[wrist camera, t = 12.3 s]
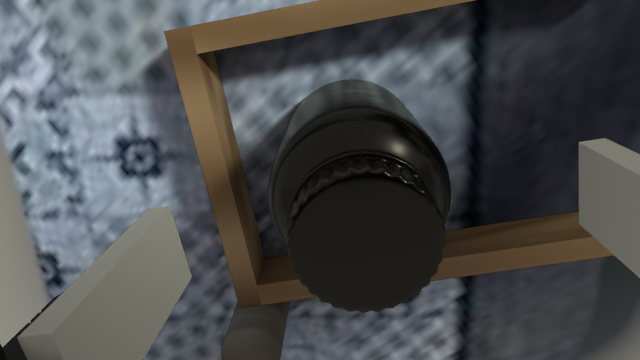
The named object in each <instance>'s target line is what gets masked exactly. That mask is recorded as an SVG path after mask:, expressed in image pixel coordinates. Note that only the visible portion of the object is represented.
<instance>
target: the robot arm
mask: <svg viewBox="0 0 640 360" xmlns="http://www.w3.org/2000/svg"><path fill="white" fill-rule="evenodd" d="M579 224H580V225H581V226H582V227H583V228H584V229H585V230H587V231H588V232H589V233H590V234H591V235H592V236H593V237H594V238H596V239H597V240H598V241H599V242H600V243H601V244H602V245H603V246H604V247H606V248H607V249H608V250H609V251H610V252H611V253H612V254H613V255H615V256H616V257H617V258H618V259H619V260H620V261H621V262H622V263H624V264H625V265H626V266H627V267H628V268H629V269H630V270H631V271H633V272H634V273H635V274H636V275H637V276H638V277H639V278H640V154H638V153H636V152H634V151H632V150H630V149H627V148H625V147H623V146H621V145H619V144H617V143H615V142H613V141H610V140H608V139H606V138H602V139H596V140H589V141H583V142H579ZM191 278H192V276H191V272H190V269H189V266H188V263H187V260H186V256H185V253H184V250H183V247H182V244H181V240H180V237H179V234H178V231H177V227H176V224H175V221H174V218H173V215H172V211H171V208H170V206H166V207H160V208H153V209H148V210H147V211H146V212H145V213H144V214H143V215H142V216H141V217H140V218H139V219H138V220H137V221H136V222H135V223H134V224H133V225H132V226H131V227H130V228H129V229H128V230H127V231H126V232H125V233H124V234H123V235H121V236H120V237H119V238H118V239H117V240H116V241H115V242H114V243H113V244H112V245H111V246H110V247H109V248H108V249H107V250H106V251H105V252H104V253H103V254H102V255H101V256H100V257H99V258H98V259H97V260H96V261H95V262H94V263H93V264H92V265H91V266H90V267H89V268H88V269H87V270H86V271H85V272H84V273H83V274H82V275H81V276H80V277H79V278H78V279H77V280H75V281H74V282H73V283H72V284H71V285H70V286H69V287H68V288H67V289H66V290H65V291H64V292H63V293H61V294H60V295H58V296H56V297H55V298H54V299H52V300H51V301H50V302H49V303H48V304H47V305H46V306H45V307H44V308H43V309H42V310H41V313H38V314H37V315H36V316H35V317H34V318H33V319H32V320H31V323H28V324H27V325H26V326H25V327H24V328H23V329H21V330H20V331H19V332H18V333H17V334H16V335H15V336H14V337H13V338H12V339H11V340H10V341H9V342H8V343H7V344H6V345H5V346H4V347H3V348H2V346H1V345H0V360H143V359H144V358H145V356H146V354H147V353H148V351H149V349H150V347H151V346H152V344H153V342H154V341H155V339H156V337H157V336H158V334H159V332H160V330H161V329H162V327H163V325H164V324H165V322H166V320H167V319H168V317H169V315H170V314H171V312H172V310H173V308H174V307H175V305H176V303H177V302H178V300H179V298H180V297H181V295H182V293H183V291H184V290H185V288H186V286H187V285H188V283H189V281H190V280H191Z"/></svg>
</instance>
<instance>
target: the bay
mask: <svg viewBox="0 0 640 360" xmlns="http://www.w3.org/2000/svg"><path fill="white" fill-rule="evenodd" d="M469 1H474V0H319V1H314V2H309V3H304V4H299V5H294V6H289V7H284V8H279V9H274V10H269V11H264V12H259V13H253V14H248V15H243V16H238V17H233V18H228V19H223V20H218V21H213V22H208V23H203V24H198V25H193V26H188V27H183V28H178V29H173V30H168V31H164V34H165V37H166V41H167V44H168V48H169V52H170V55H171V59H172V63H173V66H174V70H175V73H176V77H177V81H178V84H179V88H180V92H181V95H182V99H183V103H184V106H185V110H186V113H187V117H188V121H189V124H190V128H191V132H192V135H193V139H194V143H195V146H196V150H197V153H198V157H199V161H200V164H201V168H202V172H203V175H204V179H205V182H206V186H207V190H208V193H209V197H210V201H211V204H212V208H213V212H214V215H215V219H216V222H217V226H218V230H219V233H220V237H221V241H222V244H223V248H224V251H225V255H226V259H227V262H228V266H229V270H230V273H231V277H232V281H233V284H234V288H235V291H236V295H237V299H238V303H237V305H236V308H235V311H234V314H233V317H232V320H231V322H230V325H229V328H228V331H227V334H226V337H225V339H224V342H223V345H222V349H221V356H222V359H223V360H280V356H281V350H282V345H283V339H284V333H285V327H286V321H287V315H288V309H289V302H290V301H294V300H301V299H308V298H315V297H317V296H315V295H312V294H310V292H309V291H308V288H307V287H306V286H304V285H302V284H301V283H300V280H299V276H297V275H296V274H295V273H294V272H293V268H292V263H291V262H290V260H289V259H288V255H284V256H277V257H271V258H265V256H264V252H263V248H262V244H261V240H260V236H259V232H258V228H257V224H256V220H255V216H254V212H253V207H252V203H251V199H250V195H249V191H248V187H247V183H246V179H245V175H244V171H243V167H242V163H241V159H240V155H239V151H238V147H237V142H236V138H235V134H234V130H233V126H232V122H231V118H230V114H229V110H228V106H227V102H226V98H225V94H224V90H223V86H222V82H221V77H220V73H219V69H218V65H217V61H216V57H215V53H214V51H215V50H220V49H225V48H230V47H236V46H241V45H246V44H251V43H256V42H261V41H267V40H272V39H277V38H282V37H287V36H293V35H298V34H303V33H308V32H313V31H319V30H324V29H329V28H334V27H339V26H344V25H350V24H355V23H360V22H365V21H370V20H376V19H381V18H386V17H391V16H396V15H402V14H407V13H412V12H417V11H422V10H428V9H433V8H438V7H443V6H448V5H453V4H459V3H464V2H469ZM444 240H445V243H446V246H445V248H444V250H443V252H442V254H443V260H442V261H441V263H440V264H439V265H438V271H437V273H436V274H435V275H434V276H433V277H431V280H430V281H435V280H442V279H449V278H457V277H464V276H471V275H478V274H485V273H492V272H499V271H506V270H513V269H520V268H527V267H534V266H542V265H549V264H556V263H563V262H570V261H577V260H584V259H591V258H598V257H605V256H612V255H613V254H612V253H611V252H610V251H609V250H608V249H607V248H606V247H604V246H603V245H602V244H601V243H600V242H599V241H598V240H597V239H596V238H594V237H593V236H592V235H591V234H590V233H589V232H588V231H587V230H585V229H584V228H583V227H582V226H581V225H580V224H579V211H577V212H570V213H564V214H557V215H550V216H544V217H537V218H530V219H524V220H517V221H510V222H504V223H497V224H490V225H484V226H477V227H470V228H464V229H457V230H450V231H445V236H444Z"/></svg>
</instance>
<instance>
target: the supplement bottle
mask: <svg viewBox="0 0 640 360" xmlns="http://www.w3.org/2000/svg"><path fill="white" fill-rule="evenodd" d="M450 200H451V186H450V178H449V173H448V170H447V166H446V164H445V161H444V159H443V157H442V155H441V153H440V151H439V149H438V148H437V146H436V145H435V143H434V142H433V141H432V139H431V138H430V136H429V135H428V134H427V133H426V131H425V130H424V129H423V128H422V126H421V125H420V124H419V123H418V121H417V120H416V119H415V118H414V117H413V115H412V114H411V113H410V112H409V110H408V109H407V108H406V107H405V105H404V104H403V103H402V102H401V101H400V100H399V99H398V98H397V97H396V96H395V95H394V94H392V93H391V92H390V91H388V90H387V89H385V88H383V87H381V86H379V85H377V84H374V83H371V82H368V81H363V80H352V79H351V80H341V81H336V82H332V83H329V84H327V85H324V86H322V87H320V88H319V89H317V90H315V91H314V92H312V93H311V94H310V95H309V96H308V97H307V98H305V99H304V100H303V102H302V103H301V104H300V105H299V106H298V108H297V109H296V111H295V113H294V114H293V116H292V118H291V120H290V123H289V125H288V127H287V130H286V132H285V135H284V138H283V140H282V143H281V145H280V148H279V151H278V153H277V156H276V158H275V161H274V164H273V167H272V170H271V174H270V179H269V186H268V205H269V211H270V216H271V219H272V222H273V225H274V227H275V229H276V232H277V233H278V235H279V237H280V239H281V240H282V242H283V243H284V244H285V246H286V247H287V248H288V259H289V260H290V262H291V263H292V268H293V272H294V273H295V274H296V275H297V276H299V280H300V283H301V284H302V285H304V286H306V287H307V288H308V291H309V292H310V294H312V295H315V296H317V297H318V298H319V299H320V300H321V301H322V302H325V303H330V304H331V305H332V306H333V307H335V308H344V309H345V310H348V311H355V310H357V311H360V312H363V313H364V312H368V311H378V312H379V311H381V310H383V309H385V308H394V307H395V306H397V305H398V304H400V303H405V302H407V301H408V300H409V299H410V298H411V297H412V296H415V295H418V294H419V293H420V291H421V289H422V288H423V287H425V286H427V285H428V284H429V283H430V280H431V277H433V276H434V275H435V274H436V273H437V271H438V265H439V264H440V263H441V261H442V260H443V254H442V252H443V250H444V248H445V246H446V243H445V240H444V236H445V227H444V224H445V222H446V219H447V216H448V212H449V207H450Z"/></svg>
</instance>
